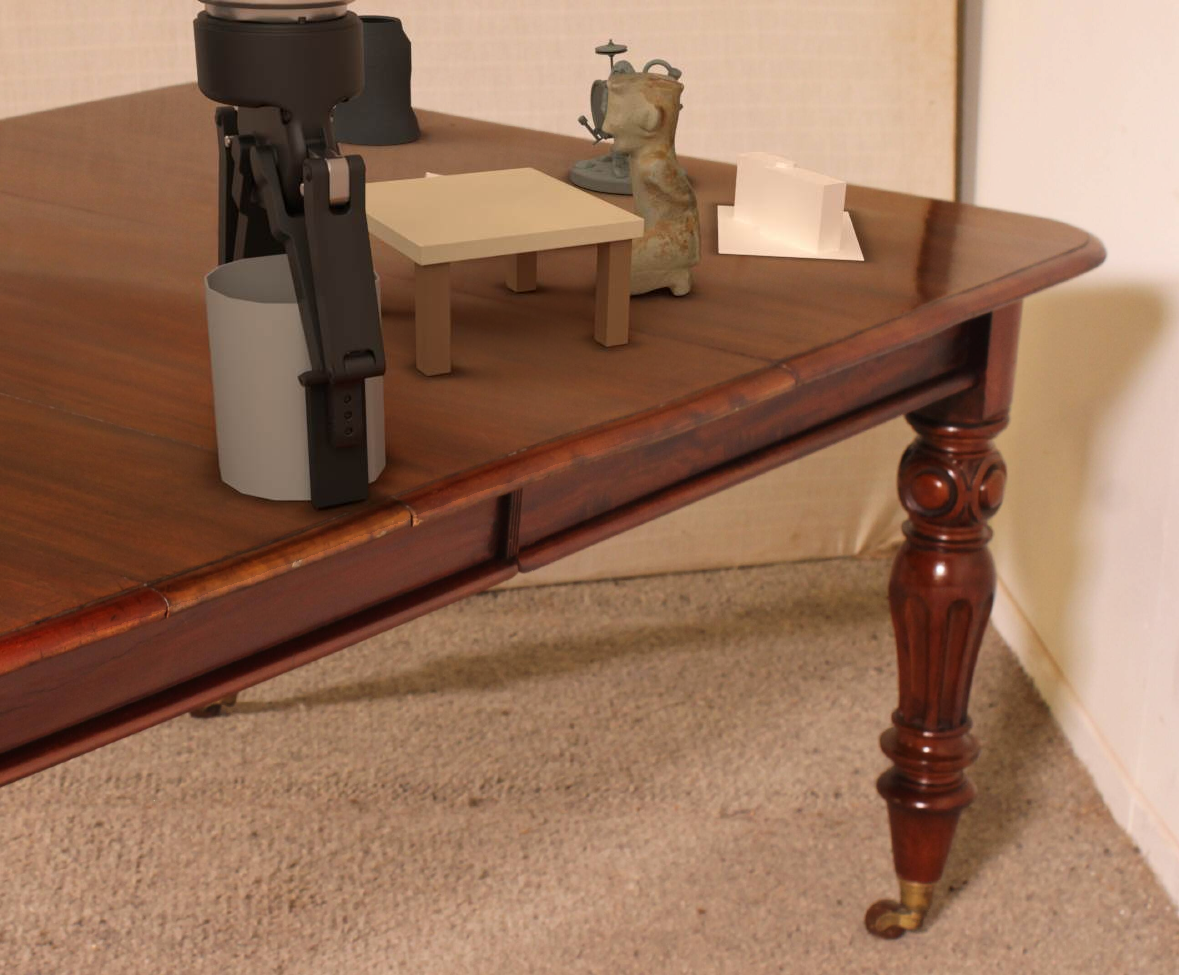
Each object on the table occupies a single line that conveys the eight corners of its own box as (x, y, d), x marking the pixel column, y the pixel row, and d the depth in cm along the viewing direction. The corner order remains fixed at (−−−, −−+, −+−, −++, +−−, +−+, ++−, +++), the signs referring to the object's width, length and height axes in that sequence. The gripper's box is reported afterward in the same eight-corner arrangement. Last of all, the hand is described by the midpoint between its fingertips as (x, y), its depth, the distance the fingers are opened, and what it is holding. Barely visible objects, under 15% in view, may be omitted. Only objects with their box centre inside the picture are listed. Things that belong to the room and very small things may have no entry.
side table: (422, 381, 88) (420, 245, 85) (330, 308, 100) (325, 186, 96) (638, 345, 95) (644, 218, 92) (529, 281, 107) (530, 166, 103)
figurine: (592, 197, 129) (596, 55, 124) (554, 169, 138) (557, 36, 133) (704, 191, 132) (713, 52, 127) (660, 164, 142) (667, 34, 137)
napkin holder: (867, 260, 114) (875, 186, 112) (718, 253, 115) (723, 180, 112) (847, 211, 128) (854, 144, 125) (715, 205, 128) (719, 138, 126)
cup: (189, 460, 77) (172, 272, 73) (324, 421, 82) (315, 244, 78) (278, 516, 71) (265, 316, 67) (416, 471, 76) (413, 283, 72)
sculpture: (592, 278, 108) (599, 65, 101) (691, 279, 108) (704, 67, 102) (599, 303, 102) (607, 80, 96) (703, 304, 103) (718, 82, 97)
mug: (420, 126, 154) (418, 13, 150) (421, 145, 146) (418, 26, 141) (303, 125, 153) (297, 11, 148) (296, 144, 145) (290, 24, 140)
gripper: (460, 39, 60) (463, 534, 70) (275, -23, 77) (298, 380, 87) (280, 48, 57) (309, 568, 66) (129, -19, 74) (169, 400, 83)
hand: (303, 461), depth 76 cm, fingers open, 10 cm apart
